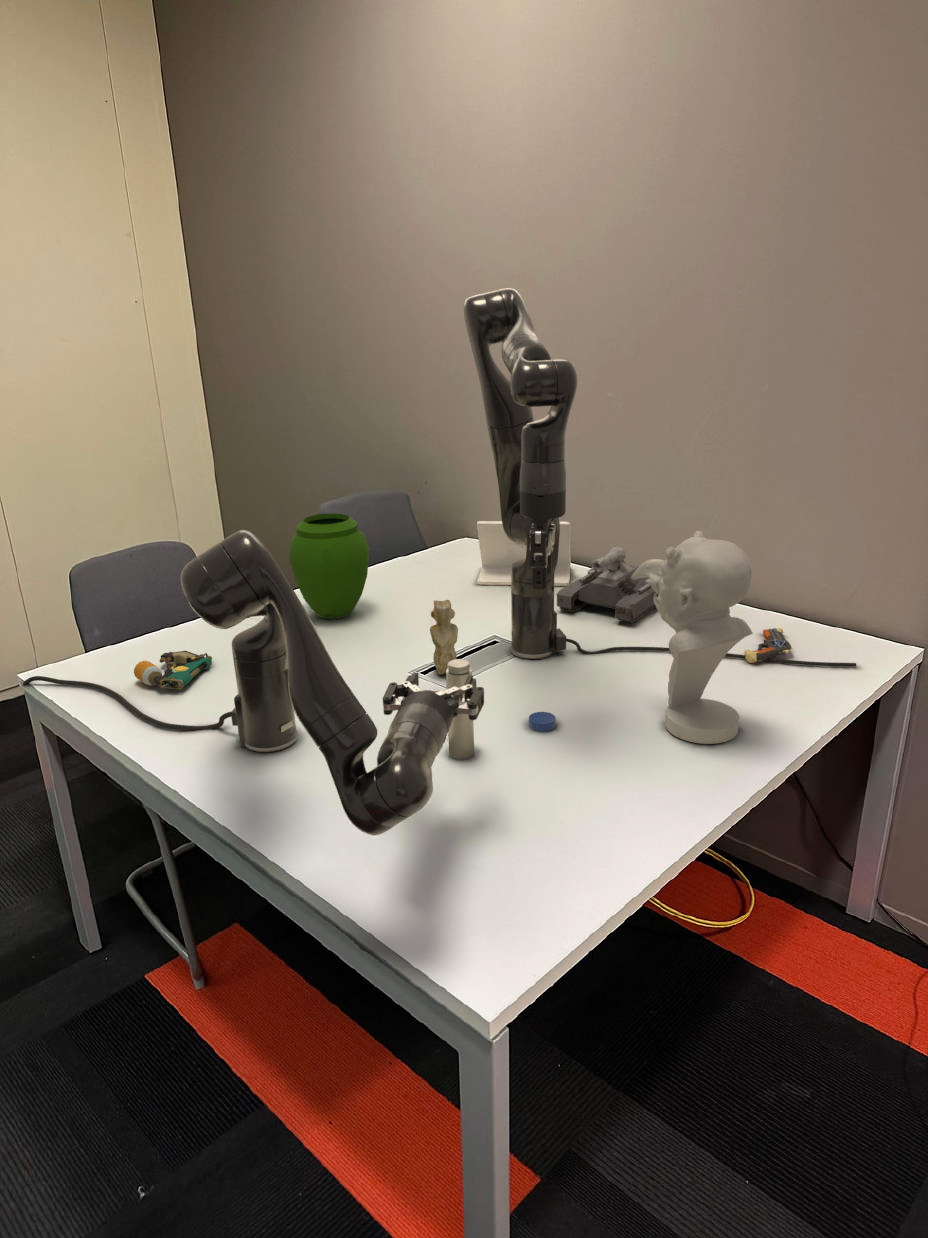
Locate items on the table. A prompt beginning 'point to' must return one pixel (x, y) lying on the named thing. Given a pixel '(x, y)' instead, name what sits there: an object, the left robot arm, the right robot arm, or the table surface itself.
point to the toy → (610, 589)
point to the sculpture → (443, 635)
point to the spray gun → (172, 669)
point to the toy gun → (769, 646)
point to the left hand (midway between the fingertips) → (443, 679)
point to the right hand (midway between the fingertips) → (542, 580)
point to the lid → (542, 721)
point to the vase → (329, 563)
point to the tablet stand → (515, 554)
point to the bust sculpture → (699, 629)
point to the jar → (461, 724)
